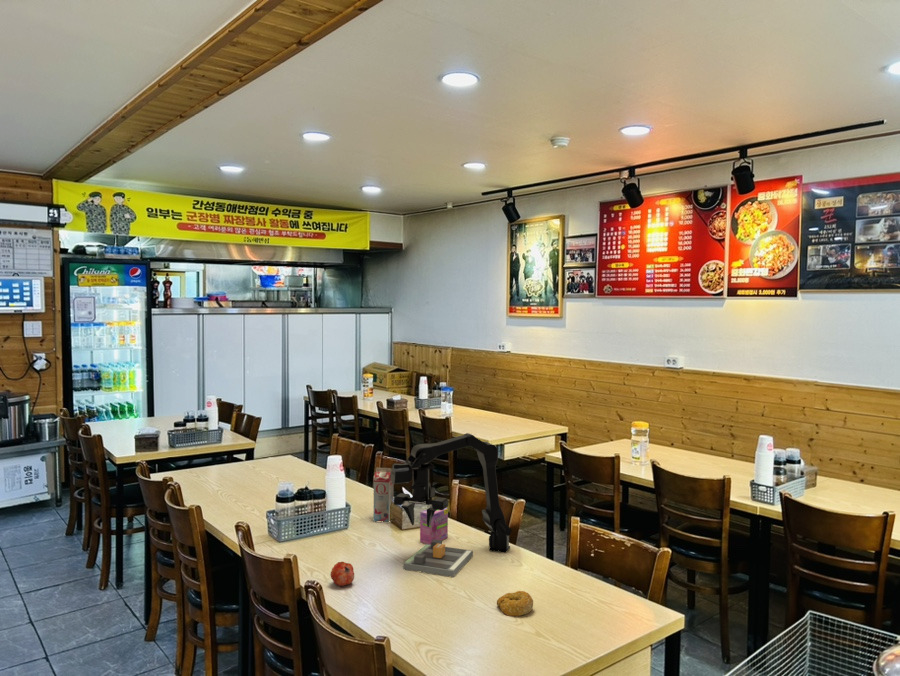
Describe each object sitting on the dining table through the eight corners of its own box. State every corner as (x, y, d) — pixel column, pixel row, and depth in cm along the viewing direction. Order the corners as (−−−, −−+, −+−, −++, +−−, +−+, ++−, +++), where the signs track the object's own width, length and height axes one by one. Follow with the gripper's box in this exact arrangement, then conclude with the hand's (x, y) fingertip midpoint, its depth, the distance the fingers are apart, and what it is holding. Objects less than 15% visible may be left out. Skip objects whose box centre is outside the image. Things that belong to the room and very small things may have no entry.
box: (431, 545, 237) (431, 514, 237) (419, 542, 241) (419, 511, 240) (448, 538, 246) (448, 507, 245) (436, 535, 249) (436, 505, 249)
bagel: (508, 598, 193) (508, 582, 193) (539, 609, 186) (540, 593, 186) (489, 610, 186) (489, 594, 185) (521, 622, 179) (521, 605, 178)
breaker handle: (445, 554, 222) (445, 544, 222) (441, 558, 219) (441, 547, 218) (437, 553, 223) (437, 542, 223) (432, 557, 220) (433, 546, 219)
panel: (472, 556, 227) (472, 543, 227) (453, 577, 208) (453, 563, 208) (426, 549, 234) (426, 537, 233) (403, 569, 215) (403, 556, 215)
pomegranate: (327, 591, 203) (335, 581, 195) (326, 568, 207) (334, 557, 200) (350, 590, 206) (358, 580, 198) (348, 567, 210) (357, 556, 203)
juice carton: (388, 522, 264) (389, 470, 263) (373, 521, 265) (373, 469, 264) (393, 518, 270) (393, 466, 269) (378, 517, 271) (378, 465, 271)
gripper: (453, 478, 227) (453, 522, 227) (406, 473, 234) (406, 516, 234) (442, 486, 217) (442, 531, 217) (392, 481, 223) (392, 525, 224)
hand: (420, 525), depth 223 cm, fingers open, 6 cm apart
